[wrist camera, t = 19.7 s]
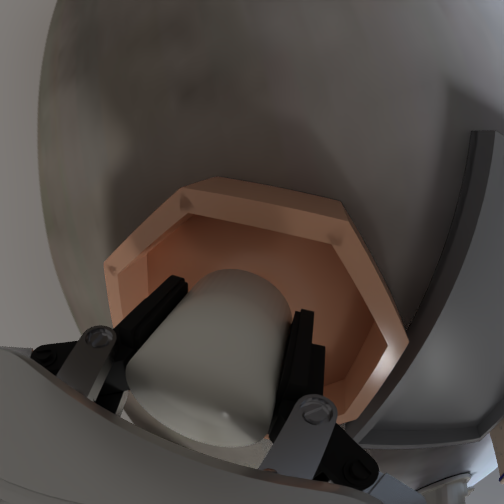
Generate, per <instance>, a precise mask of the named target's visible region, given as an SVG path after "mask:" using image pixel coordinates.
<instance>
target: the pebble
mask: <svg viewBox="0 0 504 504" xmlns="http://www.w3.org/2000/svg"><path fill="white" fill-rule="evenodd" d="M291 324H292V313H291V310H290V307H289V305H288V302H287V301H286V299H285V297H284V296H283V295H282V293H281V292H280V291H279V290H278V289H277V288H276V287H275V286H274V285H273V284H271V283H270V282H269V281H267V280H266V279H264V278H262V277H261V276H259V275H256V274H254V273H251V272H248V271H244V270H239V269H222V270H217V271H214V272H211V273H209V274H207V275H205V276H204V277H202V278H201V279H200V280H199V281H198V282H197V283H196V284H195V285H194V286H193V287H192V289H191V290H190V291H189V292H188V293H187V294H186V295H185V297H184V298H183V299H182V300H181V301H180V302H179V303H178V305H177V306H176V307H175V308H174V309H173V310H172V312H171V313H170V314H169V315H168V316H167V317H166V318H165V320H164V321H163V322H162V323H161V324H160V325H159V327H158V328H157V329H156V330H155V331H154V332H153V334H152V335H151V336H150V337H149V338H148V340H147V341H146V342H145V343H144V344H143V345H142V347H141V348H140V349H139V350H138V351H137V353H136V354H135V355H134V356H133V357H132V358H131V360H130V361H129V362H128V364H127V366H126V380H127V383H128V386H129V388H130V390H131V392H132V394H133V395H134V397H135V398H136V400H137V401H138V402H139V403H140V405H141V406H142V407H143V408H144V409H145V410H146V411H147V412H148V413H149V414H150V415H152V416H153V417H154V418H155V419H156V420H158V421H159V422H161V423H162V424H163V425H165V426H167V427H168V428H170V429H171V430H173V431H175V432H177V433H179V434H181V435H183V436H185V437H188V438H190V439H193V440H196V441H199V442H202V443H206V444H210V445H215V446H221V447H242V446H248V445H252V444H254V443H257V442H259V441H260V440H262V439H263V438H264V437H265V436H266V434H267V433H268V431H269V427H270V423H271V419H272V415H273V411H274V407H275V403H276V393H277V389H278V385H279V381H280V376H281V372H282V367H283V363H284V358H285V354H286V349H287V344H288V339H289V334H290V329H291Z"/></svg>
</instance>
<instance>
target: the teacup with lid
mask: <svg viewBox="0 0 504 504" xmlns="http://www.w3.org/2000/svg"><path fill="white" fill-rule="evenodd" d="M490 436H491V439H492V443H493V447H494V450H495V455H496V459H497V463H498V468H499V473H500V478H499V481H500V483H501V484H504V418H503V419H502V420H501V421H500V422H499V423H498V424H497V425H496V426H495V427H494V428H493V429H492V430H491V431H490Z"/></svg>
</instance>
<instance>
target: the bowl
mask: <svg viewBox="0 0 504 504" xmlns="http://www.w3.org/2000/svg"><path fill="white" fill-rule="evenodd" d="M222 269H239V270H244V271H248V272H251V273H254V274H256V275H259V276H261V277H262V278H264V279H266V280H267V281H269V282H270V283H271V284H273V285H274V286H275V287H276V288H277V289H278V290H279V291H280V292H281V293H282V295H283V296H284V297H285V299H286V301H287V302H288V305H289V307H290V310H291V313H292V321H293V317H294V314H295V311H299V312H300V311H301V309H306V310H310V311H314V325H313V336H312V343H313V344H317V345H322V346H325V373H324V389H323V396H324V397H326V398H328V399H330V400H331V401H332V402H333V403H334V404H335V406H336V408H337V412H338V416H337V420H336V423H337V424H338V425H339V424H342V423H346V422H349V421H352V420H356V419H357V418H358V417H359V416H360V414H361V413H362V412H363V411H364V409H365V408H366V407H367V405H368V404H369V403H370V401H371V400H372V399H373V397H374V396H375V394H376V393H377V392H378V390H379V389H380V387H381V386H382V385H383V383H384V382H385V380H386V379H387V377H388V376H389V374H390V373H391V371H392V370H393V368H394V366H395V365H396V363H397V362H398V360H399V358H400V357H401V355H402V354H403V352H404V350H405V348H406V347H407V345H408V343H409V340H408V337H407V334H406V331H405V328H404V325H403V323H402V320H401V317H400V314H399V312H398V309H397V307H396V304H395V301H394V299H393V297H392V295H391V293H390V290H389V288H388V286H387V284H386V282H385V280H384V278H383V276H382V274H381V272H380V270H379V268H378V266H377V265H376V263H375V261H374V259H373V257H372V255H371V253H370V251H369V249H368V248H367V246H366V244H365V242H364V240H363V239H362V237H361V235H360V233H359V232H358V230H357V228H356V226H355V225H354V223H353V221H352V219H351V218H350V216H349V214H348V213H347V211H346V209H345V208H344V206H343V204H342V203H341V202H340V201H338V200H333V199H329V198H325V197H321V196H316V195H312V194H308V193H303V192H298V191H294V190H289V189H284V188H279V187H274V186H269V185H264V184H258V183H253V182H247V181H242V180H236V179H230V178H224V177H218V176H216V177H212V178H209V179H206V180H203V181H199V182H196V183H193V184H190V185H187V186H184V187H181V188H180V189H178V190H177V191H176V192H175V193H174V194H173V195H172V196H171V197H170V198H168V199H167V200H166V201H165V202H164V203H163V204H162V205H161V206H160V207H159V208H158V209H156V210H155V211H154V212H153V213H152V214H151V215H150V216H149V217H148V218H147V219H146V220H145V221H144V222H143V223H142V224H141V225H140V226H139V227H138V228H137V229H136V230H135V231H134V232H133V233H132V234H131V235H130V236H129V237H128V238H127V239H126V240H125V241H124V242H123V243H122V244H121V245H120V246H119V247H118V248H117V249H116V250H115V251H114V252H113V253H112V254H111V255H110V256H109V258H108V259H107V260H106V261H105V262H104V271H105V280H106V287H107V294H108V300H109V306H110V312H111V317H112V323H113V328H115V327H116V326H117V325H118V324H119V323H120V322H121V321H122V320H123V319H124V318H125V317H126V316H127V315H128V314H129V313H130V312H131V311H132V310H133V309H134V308H135V307H136V306H137V305H139V304H140V303H141V302H142V301H143V300H144V299H145V298H147V297H148V296H149V295H150V294H151V293H152V292H153V291H155V290H156V289H157V288H158V287H159V286H160V285H161V284H162V283H163V282H164V281H165V280H166V279H167V278H168V277H170V276H171V275H175V276H179V277H182V278H184V279H185V282H187V283H188V292H189V291H190V290H191V289H192V287H193V286H194V285H195V284H196V283H197V282H198V281H199V280H200V279H201V278H202V277H204V276H205V275H207V274H209V273H211V272H214V271H217V270H222ZM268 436H269V435H268V434H266V436H265V437H264V438H265V439H269V438H268Z"/></svg>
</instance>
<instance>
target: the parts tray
mask: <svg viewBox="0 0 504 504" xmlns="http://www.w3.org/2000/svg"><path fill="white" fill-rule="evenodd" d="M406 334H407V337H408V340H409V343H408V345H407V347H406V348H405V350H404V352H403V354H402V355H401V357H400V358H399V360H398V362H397V363H396V365H395V366H394V368H393V370H392V371H391V373H390V374H389V376H388V377H387V379H386V380H385V382H384V383H383V385H382V386H381V387H380V389H379V390H378V392H377V393H376V394H375V396H374V397H373V399H372V400H371V401H370V403H369V404H368V405H367V407H366V408H365V409H364V411H363V412H362V413H361V414H360V416H359V417H358V418H357V419H356V420H352V421H349V422H347V424H346V431H345V432H346V433H347V434H348V435H349V436H350V437H351V438H352V439H353V440H354V441H355V442H356V443H357V444H358V445H359V446H361V447H362V448H365V449H419V448H433V447H444V446H452V445H460V444H466V443H472V442H478V441H480V440H481V439H482V438H484V437H485V436H486V435H487V434H488V433H489V432H490V431H491V430H492V429H493V428H494V427H495V426H496V425H497V424H498V423H499V422H500V421H501V420H502V419H503V418H504V136H503V135H502V134H500V133H499V132H497V131H496V130H490V131H471V139H470V146H469V153H468V158H467V164H466V169H465V174H464V179H463V184H462V188H461V192H460V196H459V200H458V204H457V208H456V211H455V215H454V218H453V222H452V225H451V228H450V231H449V235H448V238H447V241H446V244H445V246H444V249H443V252H442V255H441V257H440V260H439V263H438V265H437V268H436V270H435V273H434V275H433V278H432V280H431V283H430V285H429V287H428V289H427V292H426V294H425V296H424V298H423V301H422V303H421V305H420V307H419V309H418V311H417V313H416V315H415V317H414V319H413V321H412V323H411V325H410V327H409V329H408V331H407V333H406Z"/></svg>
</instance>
